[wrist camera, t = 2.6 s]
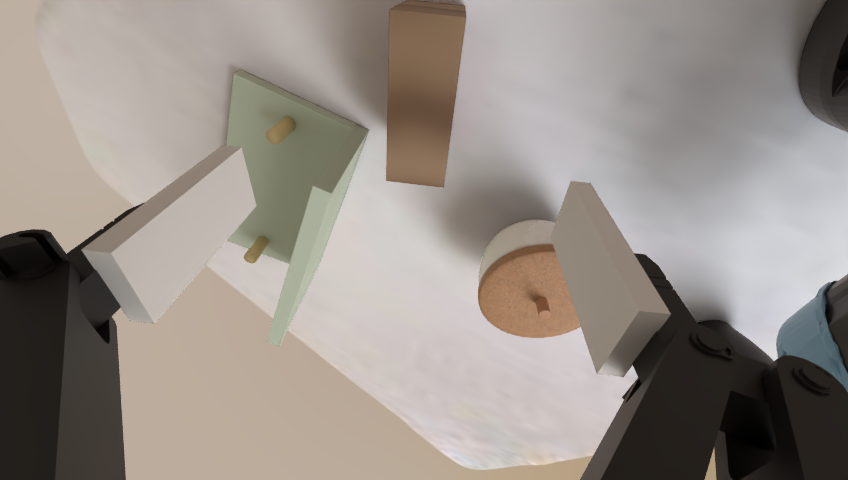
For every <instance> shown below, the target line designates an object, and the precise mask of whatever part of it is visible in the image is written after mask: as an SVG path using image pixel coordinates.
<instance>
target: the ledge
mask: <svg viewBox="0 0 848 480" xmlns="http://www.w3.org/2000/svg"><path fill="white" fill-rule="evenodd" d="M368 131H369V130H368V129H366V128H363V127H361V126H359V125H357V124H355V123H353V122H351V121H349V120H347V119H344V118H342V117H340V116H338V115H336V114H334V113H332V112H330V111H327V110H325V109H323V108H321V107H319V106H317V105H315V104H313V103H310V102H308V101H306V100H304V99H302V98H300V97H298V96H296V95H293V94H291V93H289V92H287V91H285V90H283V89H281V88H279V87H276V86H274V85H272V84H270V83H268V82H266V81H264V80H262V79H259V78H257V77H255V76H253V75H251V74H249V73H247V72H245V71H243V70H240V71H238V72H235V73H234V74H233V84H232V93H231V102H230V112H229V121H228V131H227V140H226V146H233V147H242V151H243V155H244V159H245V163H246V167H247V171H248V174H249V178H250V182H251V186H252V190H253V194H254V198H255V201H256V205H257V206H256V207H255V208H254V210H253V211H252V212H251V213H250V214H249V215H248V216H247V218H246V219H245V220H244V221H243V222H242V223H241V225H240V226H239V227H238V228H237V229H236V230H235V232H234V233H233V234H232V235H231V236H230V237H229V238H228V240H227V241H230V242H232V243H235V244H238V245H240V246H243V247H246V248H248V249H249V250H248V251H247V253H246V254H245V255H244V259H245V260H246V261H247V262H249V263H255V262H256V260H257V259H258V258H259V256H260V255H261V253H262V254H264V255H267V256H270V257H272V258H275V259H278V260H280V261H283V262H286V263H288V264H290V265H289V268H288V271H287V275H286V278H285V281H284V285H283V288H282V291H281V295H280V298H279V302H278V305H277V308H276V312H275V315H274V318H273V322H272V325H271V329H270V332H269V335H268V339H267V342H268V343H271V344H274V345H277V346H280V344H281V342H282V340H283V338H284V336H285V334H286V332H287V330H288V328H289V326H290V324H291V322H292V320H293V318H294V315H295V313H296V311H297V309H298V307H299V305H300V303H301V301H302V299H303V297H304V295H305V293H306V291H307V289H308V287H309V285H310V283H311V281H312V279H313V276H314V274H315V272H316V270H317V268H318V266H319V263H320V261H321V258H322V255H323V253H324V250H325V247H326V245H327V242H328V239H329V236H330V234H331V231H332V228H333V226H334V223H335V220H336V218H337V215H338V212H339V209H340V207H341V204H342V201H343V199H344V196H345V193H346V191H347V188H348V185H349V183H350V180H351V177H352V174H353V172H354V169H355V166H356V164H357V161H358V158H359V156H360V153H361V150H362V147H363V145H364V142H365V139H366V137H367V134H368Z"/></svg>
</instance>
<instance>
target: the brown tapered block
mask: <svg viewBox="0 0 848 480" xmlns="http://www.w3.org/2000/svg"><path fill="white" fill-rule="evenodd" d="M465 23H466V10H465V6H462V5H452V4H443V3H434V2H424V1H415V0H407V1H405V2H403V3H401V4H399V5H397V6H395V7H393V8H391V9H390V13H389V64H388V115H387V166H386V181H392V182H401V183H410V184H418V185H427V186H436V187H444V181H445V173H446V165H447V158H448V150H449V143H450V135H451V128H452V120H453V113H454V105H455V98H456V90H457V83H458V75H459V68H460V60H461V53H462V45H463V38H464V30H465Z"/></svg>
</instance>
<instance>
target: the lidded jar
mask: <svg viewBox="0 0 848 480" xmlns="http://www.w3.org/2000/svg"><path fill="white" fill-rule="evenodd" d="M554 226H555V222H551V221H546V220H538V219H535V220H525V221H521V222H517V223H514V224H512V225H510V226H508V227H506V228H505V229H503V230H502V231H500V232H499V233H498V234H497V235H496V236H495V237H494V238H493V239H492V240H491V241H490V243H489V245H488V246H487V248H486V249H485V251H484V254H483V257H482V260H481V264H480V271H479V288H478V301H479V306H480V309H481V311H482V313H483V315H484V316H485V318H486V319H487V320H488V321H489V322H490V323H491V324H493V325H494V326H495V327H497V328H498V329H500V330H502V331H504V332H506V333H509V334H513V335H516V336H521V337H530V338H544V337H552V336H557V335H561V334H564V333H568V332H570V331H573V330H575V329H577V328H579V327H581V325H580V323H579V320H578V317H577V314H576V311H575V308H574V305H573V302H572V299H571V296H570V293H569V290H568V287H567V284H566V281H565V278H564V275H563V272H562V270H561V267H560V264H559V261H558V258H557V255H556V252H555V249H554V246H553V243H552V240H551V234H552V231H553V229H554Z"/></svg>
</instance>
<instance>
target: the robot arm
mask: <svg viewBox="0 0 848 480" xmlns="http://www.w3.org/2000/svg"><path fill="white" fill-rule="evenodd" d="M799 80H800V89H801V94H802V97H803V99H804V102H805V104H806V105H807V107H808V109H809V110H810V111H811V112H812V113H813V114H814V115H815V116H816V117H817V118H819V119H820V120H821V121H823V122H825V123H827V124H829V125H832V126H834V127H837V128H839V129H841V130H844V131H846V132H848V0H828V1H827V2H826V4H825V6H824V7H823V9H822V11H821V12H820V14H819V16H818V18H817V20H816V22H815V23H814V25H813V28H812V30H811V32H810V34H809V37H808V39H807V42H806V45H805V48H804V51H803V55H802V59H801V64H800V74H799ZM256 206H257V205H256V201H255V198H254V194H253V190H252V186H251V182H250V178H249V174H248V171H247V167H246V163H245V159H244V155H243V151H242V147H233V146H221V147H220V148H219V149H217V150H216V151H215V152H213V153H212V154H210V155H209V156H208V157H206V158H205V159H204V160H202V161H201V162H200V163H198V164H197V165H195V166H194V167H193V168H191V169H190V170H189V171H187V172H186V173H185V174H183V175H182V176H181V177H179V178H178V179H176V180H175V181H174V182H172V183H171V184H170V185H168V186H167V187H166V188H164V189H163V190H162V191H160V192H159V193H157V194H156V195H155V196H153V197H152V198H151V199H149V200H148V201H147V202H145V203H142V204H140V205H138V206H136V207H133V208H131V209H129V210H127V211H125V212H124V213H123V214H121V215H120V216H118V217H117V218H116V219H115V220H114V222H113V221H112V222H110V223H109V224H107V225H106V226H105V227H104V229H101V230H99V231H98V232H96V233H95V234H94V235H92V236H91V237H89V238H88V239H86V240H85V241H84V242H82V243H81V244H80V245H78V246H77V247H75V248H74V249H73V250H71V251H70V252H69V253H67V254H66V253H65V252H64V251H63V249H62V248H61V246H60V245H59V243H58V242H57V241H56V239H55V238H54V236H53V235H52V234H51V232H48V231H46V230H35V229H34V230H26V231H19V232H16V233H13V234H9V235H6V236H3V237H1V238H0V480H126V477H125V460H124V443H123V426H122V410H121V394H120V376H119V359H118V343H117V327H116V323H115V321H114V320H113V318H112V317H111V316H112V315H113V314H114V313H115V312H116V311H117V310H118V309H119V308H121V309H122V310H123V312H124V313H125V315H126V316H127V318H128V319H129V321H135V322H143V323H152V324H155V323H156V321H158V319H159V318H160V317H161V316H162V315H163V314H164V312H165V311H166V310H167V309H168V308H169V307H170V306H171V304H172V303H173V302H174V301H175V300H176V299H177V297H178V296H179V295H180V294H181V293H182V292H183V291H184V289H185V288H186V287H187V286H188V285H189V284H190V282H191V281H192V280H193V279H194V278H195V277H196V275H197V274H198V273H199V272H200V271H201V270H202V269H203V267H204V266H205V265H206V264H207V263H208V262H209V260H210V259H211V258H212V257H213V256H214V255H215V254H216V252H217V251H218V250H219V249H220V248H221V247H222V245H223V244H224V243H225V242H226V241H227V240H228V238H229V237H230V236H231V235H232V234H233V233H234V232H235V230H236V229H237V228H238V227H239V226H240V225H241V223H242V222H243V221H244V220H245V219H246V218H247V216H248V215H249V214H250V213H251V212H252V211H253V210H254V208H255V207H256ZM551 240H552V243H553V246H554V249H555V252H556V255H557V258H558V261H559V264H560V267H561V270H562V272H563V275H564V278H565V281H566V284H567V287H568V290H569V293H570V296H571V299H572V302H573V305H574V308H575V311H576V314H577V317H578V320H579V323H580V325H581V328H582V331H583V334H584V337H585V340H586V343H587V346H588V349H589V352H590V355H591V358H592V361H593V364H594V367H595V370H596V373H597V374H602V375H611V376H620V377H624V376H625V374H626V373H627V372H628V370H629V369H630V368H631V366H632V365H633V366H634V369H635V371H636V373H637V375H638V379H637V380H636V381H635V382H634V384H633V385H632V386H631V387H630V388H629V390H628V391H627V392H626V393H625V395H624V396H623V397H622V398H623V399H624V401H623V403H622V405H621V407H620V409H619V410H618V412H617V414H616V416H615V418H614V419H613V421H612V423H611V425H610V427H609V428H608V430H607V432H606V434H605V436H604V437H603V439H602V441H601V443H600V445H599V446H598V448H597V450H596V452H595V454H594V455H593V458H592V459H591V461H590V463H589V464H588V467H587V468H586V470H585V472H584V473H583V475H582V477H581V479H580V480H704V479H705V476H706V472H707V469H708V466H709V462H710V458H711V455H712V452H713V449H714V448H715V462H716V477H717V480H848V274H847V275H846V276H845V277H843V278H842V279H840V280H839V281H833V282H830V283H827V284H825V285H824V286H823V287H822V288H821V289H819V291H818V293H817V296H816V297H815V298H814V299H812V300H811V301H810V302H809V303H807V304H806V305H805V306H804V307H802V308H801V309H800V310H799V311H797V312H796V313H795V314H794V315H792V316H791V317H790V318H789V319H787V321H786V322H785V323H784V324H783V325H782V327H781V328H780V330H779V333H778V336H777V343H776V346H777V353H778V359H777V360H775V361H774V362H773V363H772V364H771V365H768V364H766V363H763V362H760V361H757V360H754V359H751V358H748V357H745V356H742V355H739V354H738V353H737V352H736V350H735V348H734V347H733V345H732V344H731V343H730V342H729V341H728V340H727V339H726V338H725V337H723V336H722V335H720V334H719V333H717V332H716V331H714V330H712V329H710V328H707V327H705V326H703V325H699V324H697V323H696V321H695V320H694V318H693V317H692V315H691V314H690V312H689V311H688V309H687V308H686V306H685V305H684V303H683V302H682V300H681V299H680V297H679V296H678V294H677V293H676V291H675V290H673V287H672V286H671V284H670V283H669V281H668V280H666V277H665V275H664V274H663V272H662V271H661V269H660V268H659V266H658V265H657V264H656V263H654V262H653V261H652V260H651V259H650V258H648V257H647V256H646V255H644V254H635V253H633V251H632V250H631V248H630V247H629V245H628V243H627V242H626V240H625V238H624V237H623V235H622V233H621V232H620V230H619V229H618V227H617V225H616V224H615V222H614V220H613V219H612V217H611V216H610V214H609V212H608V211H607V209H606V207H605V206H604V204H603V203H602V201H601V199H600V198H599V196H598V194H597V193H596V191H595V190H594V188H593V186H592V185H591V183H585V182H575V181H571V182H570V185H569V188H568V190H567V193H566V196H565V199H564V201H563V204H562V207H561V209H560V212H559V215H558V218H557V220H556V223H555V226H554V229H553V231H552V234H551Z"/></svg>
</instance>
